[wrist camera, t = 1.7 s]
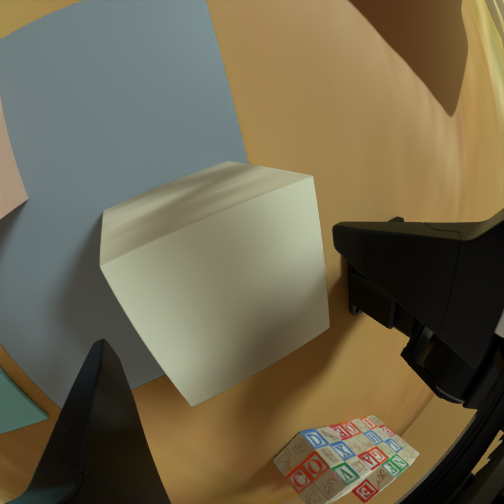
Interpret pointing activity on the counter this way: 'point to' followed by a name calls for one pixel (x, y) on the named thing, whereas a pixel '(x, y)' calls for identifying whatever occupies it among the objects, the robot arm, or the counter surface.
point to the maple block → (219, 272)
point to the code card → (98, 165)
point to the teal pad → (16, 407)
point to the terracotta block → (9, 174)
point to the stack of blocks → (344, 460)
